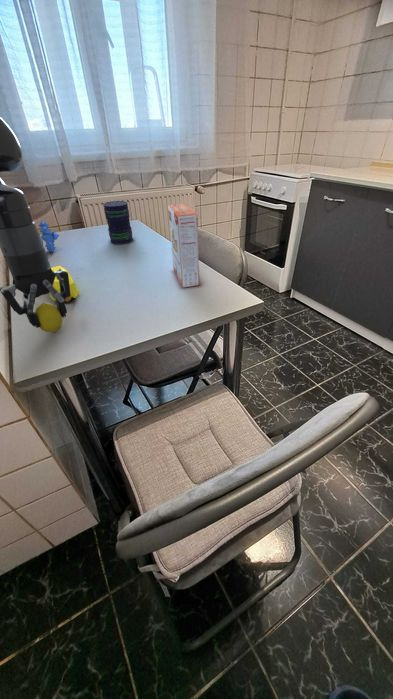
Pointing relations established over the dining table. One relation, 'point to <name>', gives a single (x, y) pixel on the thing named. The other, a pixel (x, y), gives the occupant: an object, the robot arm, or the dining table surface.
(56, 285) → the yellow faceted capsule
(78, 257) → the dining table surface
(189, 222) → the cracker box
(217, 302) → the dining table surface
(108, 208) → the storage jar
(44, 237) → the grapes
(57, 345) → the dining table surface
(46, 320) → the lemon
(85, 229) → the dining table surface
